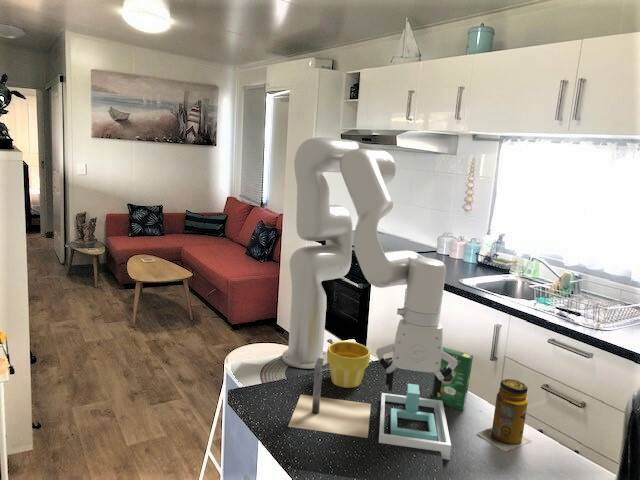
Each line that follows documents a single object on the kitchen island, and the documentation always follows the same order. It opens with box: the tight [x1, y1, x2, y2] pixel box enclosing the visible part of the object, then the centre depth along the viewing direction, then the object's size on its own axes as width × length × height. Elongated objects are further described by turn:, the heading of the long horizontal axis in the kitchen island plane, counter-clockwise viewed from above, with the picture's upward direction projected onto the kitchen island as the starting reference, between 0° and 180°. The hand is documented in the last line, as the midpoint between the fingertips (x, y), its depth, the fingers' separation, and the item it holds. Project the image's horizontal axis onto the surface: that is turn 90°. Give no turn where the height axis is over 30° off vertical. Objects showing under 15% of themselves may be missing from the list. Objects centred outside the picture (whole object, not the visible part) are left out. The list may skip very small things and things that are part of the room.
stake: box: [312, 358, 324, 414], centre depth 106 cm, size 5×2×11 cm, turn 172°
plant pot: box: [326, 341, 371, 389], centre depth 122 cm, size 10×10×10 cm
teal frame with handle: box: [390, 383, 438, 441], centre depth 105 cm, size 9×14×6 cm, turn 172°
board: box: [287, 394, 372, 439], centre depth 106 cm, size 14×16×2 cm
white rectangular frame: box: [378, 392, 452, 461], centre depth 105 cm, size 18×14×3 cm
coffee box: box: [430, 346, 474, 411], centre depth 117 cm, size 8×3×13 cm, turn 59°
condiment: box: [476, 378, 532, 452], centre depth 104 cm, size 7×8×12 cm
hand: (412, 391), depth 109 cm, fingers open, 9 cm apart
